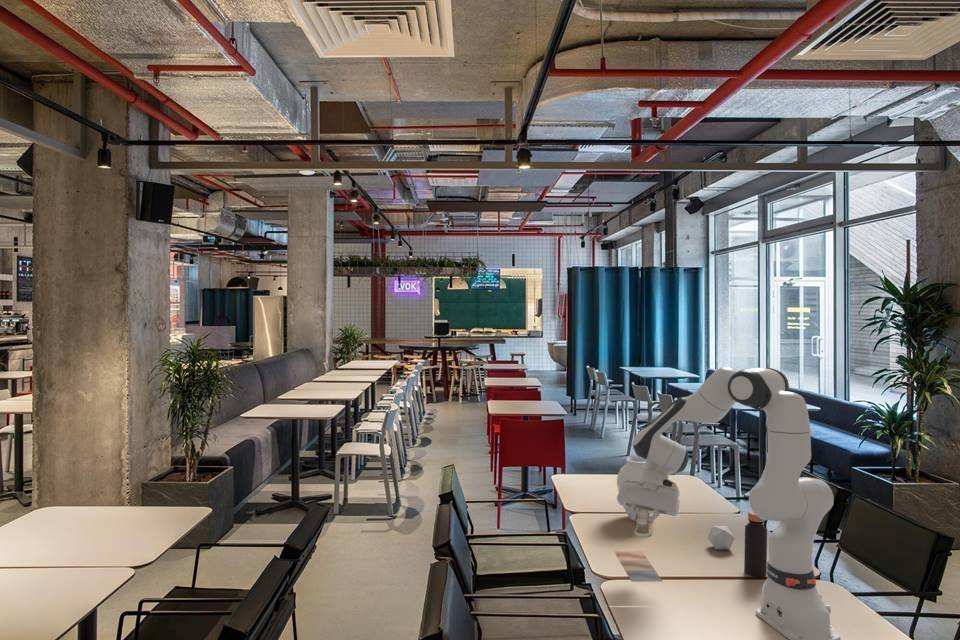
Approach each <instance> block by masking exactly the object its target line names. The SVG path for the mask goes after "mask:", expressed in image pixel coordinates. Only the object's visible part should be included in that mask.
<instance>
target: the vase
mask: <svg viewBox="0 0 960 640" xmlns="http://www.w3.org/2000/svg"><path fill="white" fill-rule="evenodd" d="M645 461H646V459H644V458H642V457H639V456H637V455H633V456H629V457H626V463H625V464H624V465H623V466H622V467H621V468H620V470H619V472H618V473H617V478H616V486H617V487H616V488H617V490H618V492H619V491H620V489H621V485H622V482H624V481H627V480H631V481H640V478H641V474H642V471H643V470H644V468H645ZM622 507H623V509H624V511H625V513H626V514H627V516H628V517H629V519H630V520H631V521H634V522H636V520H632V514H633V513H632V509H631V507H627V506H622ZM637 511H638V509H637ZM637 511H635V513H637ZM648 512H649V516H652V515H653V512H652V511H648Z"/></svg>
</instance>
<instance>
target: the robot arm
mask: <svg viewBox="0 0 960 640" xmlns="http://www.w3.org/2000/svg"><path fill="white" fill-rule="evenodd" d="M789 389H790V384H789V379H788V378H787V377H786V375H785V374H784V373H783V372H782V371H780V370H778V369H776V368H769V367H765V368H764V367H751V368H744V369H741V370H738V371H737V370H736V369H734V368H732V367H728V366H722V367H719V368H718V369H716V370H715V371H714V372H712V373H711V375H709V376H708V377H707V378H706V379H705V380H704V382H703V383H702V384H701V385H700V387H699V388H698V389H697V390H696V391H695V392H693V393H692V394H690V395H688V396H681V397H678V398H677V399H675V400H674V401H672V402H671V403H670V404H669V405H667V406H666V408H665V409H664V410H662V412H661V413H659V414H658V415H657V416H656V417H655V418H654V419H653V420H652V421H651V422H649V423H648V424H647V425H645V427H643V428H642V429H639V431H638V432H637V434H636V435H635V436H634V438H633V441H632V448H633V451H634V452H635V456H639V457H642V458H644V459H646V461H645V468H644V470H643V471H642V474H641V478H640V481H631V480H627V481H624V482H622V485H621V489H620V491H618V494H617V496H616V500H617V502H618V504H619V505H620V506H622V507H623V506H627V507H631V509H632V513H633V514H632V520H631V521H634V520H636V516H637V513H635V511H637V509H640V508H645V509H647V510H648V511H652V514H651V515H650V516H649V517H648V520H647V521H648V523H649V524H650V525H651V524H652V525H653V524H654V523H655V520H656V519H657V518H658V517H660V514H662V515H667V516H672V517H675V516H677V515H679V511H680V502H681V501H680V498H679V497H680V495H681V494H680V489H679V487H678V485H677V483H676V482H674V481H672V480H670V479H669V476H670V475H675V474H678V473H682V472H683V471H684V470H686V468H687V465H688V463H689V459H690V456H689V450H688V449H687V447H685V446H684V445H682V444H680V443H679V442H677V441H674V440H673V439H670V438H669V437H667V436H665V435H663V433H664V432H665V431H666V430H667V429H668V428H669V427H670V426H672V425H673V424H674V423H676V422H681V421H686V422H688V421H689V422H692V423H693V422H694V423H700V424H707V425H708V424H715V423H718V422H719V421H721V420H722V419H723V418H724V417H725V416H726V415H727V414H728V413H729V412H730V411H731V409H732V407H733V406H734V405H735V404H736V403H738V404H740V405H741V406H742V405H743V406H746V407H749V408H751V409H754V410H756V411H761V410H763V411H764V413H765V416H766V422H767V423H766V424H767V425H766V426H767V428H766V429H767V430H766V431H767V456H766V457H767V458H766V462H765V466H764V470H763V472H762V474H761V476H760V478H759V480H758V481H757V483H756V484H755V485H754V486H753V487H752V488H751V490H750V491H749V495H748V502H749V506H750V509H751V511H753V512H754V513H755V515H756V516H757V517H759V518H760V519H763V520H764V521H771V522H779V524H778V525H777V526H776V528H775V529H773V530H772V532H770V535H769V539H768V541H769V542H768V544H769V545H768V552H769V553H768V561H767V572H766V576H767V578H766V580H765V582H764V583H763V585H762V587H761V597H760V607H758V608H756V610H755V615H756V616H757V617H759V618H760V619H761V620H763V621H765V623H767V624H768V625H769V626H771V627H772V628H773V629H774V630H776V631H777V632H779V633H780V634H781V635H782V636H784V637H785V638H787V639H788V640H841V636H840V634H839V632H838V631H837V630H836V629H835V626H833V625H832V622H831V619H830V618H831V617H830V614H831V611H832V610H831V609H832V608H831V605H830V604H825V603H824V601H823V597H822V594H820V593H819V591H818V589H817V587H816V585H817V582H816V581H817V579H816V575H815V572H814V569H813V554H814V553H813V550H814V541H815V538H816V534H817V531H818V529H819V526H820V524H821V522H822V520H823V518H825V517H824V516H825V515H826V514H827V513H828V512H829V511H831V509H832V508H833V506H834V502H835V501H834V500H835V499H834V493H833V491H832V489H831V487H830V486H829V484H828V483H827V482H826V481H825V480H823V479H820V478H815V477H806V476H804V477H803V476H802V477H801V474H802V472H803V470H804V468H806V466H807V465H808V464H809V463H810V462H811V459H812V443H811V442H812V437H811V422H810V415H809V411H808V407H807V402H806V401H805V398H804V397H803V395H800V394H798V393H796V392H793V391H789Z"/></svg>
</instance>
